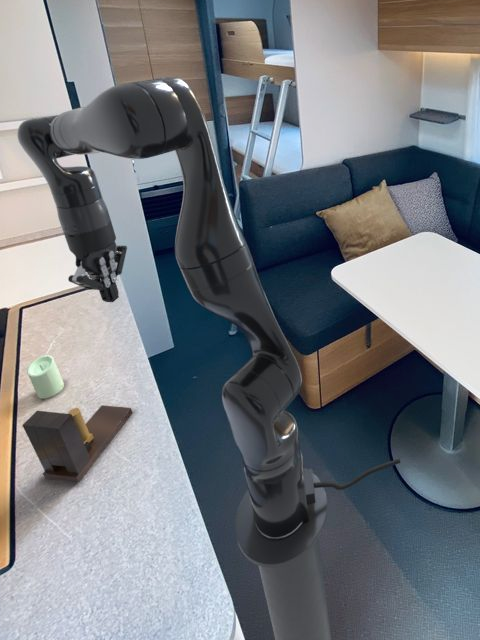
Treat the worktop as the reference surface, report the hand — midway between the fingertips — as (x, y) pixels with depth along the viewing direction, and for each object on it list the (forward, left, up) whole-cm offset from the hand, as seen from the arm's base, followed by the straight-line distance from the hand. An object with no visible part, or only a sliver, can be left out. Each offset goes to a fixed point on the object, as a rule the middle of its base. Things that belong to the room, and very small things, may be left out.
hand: (111, 299), depth 83 cm
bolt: (+8, +12, -25) cm, 29 cm away
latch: (+7, +9, -27) cm, 29 cm away
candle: (+22, -8, -27) cm, 36 cm away
